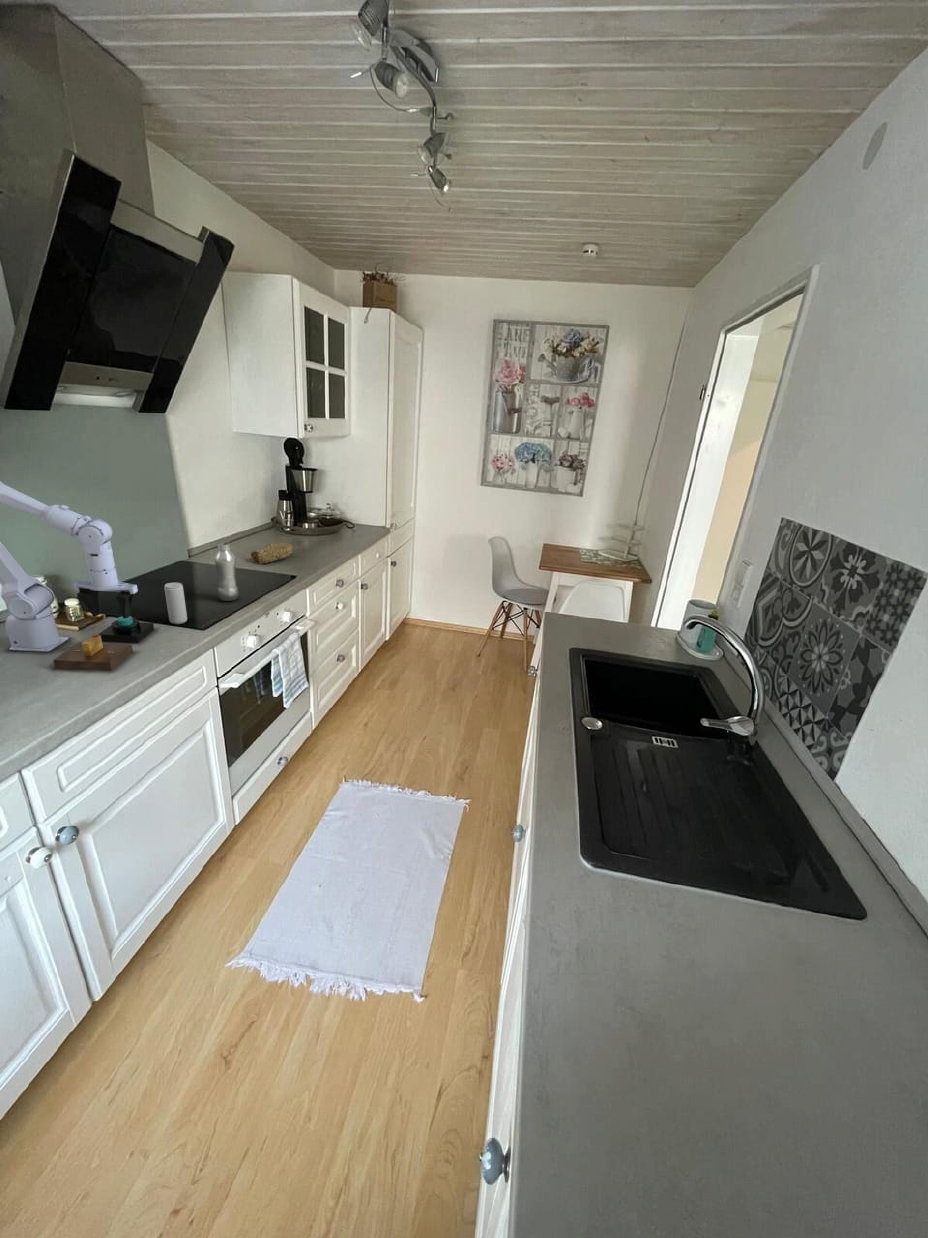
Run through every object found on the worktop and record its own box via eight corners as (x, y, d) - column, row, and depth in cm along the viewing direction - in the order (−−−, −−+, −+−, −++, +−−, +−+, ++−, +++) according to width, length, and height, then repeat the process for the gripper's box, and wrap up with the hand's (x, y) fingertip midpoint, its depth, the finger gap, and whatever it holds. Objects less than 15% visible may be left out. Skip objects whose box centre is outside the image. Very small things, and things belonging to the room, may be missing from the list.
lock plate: (55, 668, 119) (52, 659, 118) (81, 650, 129) (78, 641, 127) (111, 671, 121) (109, 661, 120) (133, 652, 130) (131, 643, 129)
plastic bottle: (213, 600, 167) (207, 543, 159) (229, 594, 173) (224, 540, 165) (228, 604, 165) (222, 547, 157) (243, 598, 171) (238, 543, 163)
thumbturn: (91, 656, 122) (88, 643, 120) (84, 656, 121) (81, 642, 120) (103, 647, 126) (100, 634, 125) (96, 647, 126) (93, 634, 124)
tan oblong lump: (265, 569, 204) (304, 552, 217) (258, 552, 201) (298, 536, 214) (249, 566, 213) (288, 551, 226) (243, 550, 209) (282, 535, 222)
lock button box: (99, 641, 134) (96, 628, 132) (118, 627, 142) (115, 615, 140) (138, 643, 135) (135, 630, 133) (154, 629, 143) (152, 617, 142)
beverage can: (179, 625, 147) (174, 588, 142) (165, 623, 148) (160, 586, 143) (191, 620, 151) (186, 583, 147) (177, 617, 152) (172, 581, 147)
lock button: (115, 626, 135) (114, 620, 134) (122, 621, 138) (121, 615, 138) (128, 626, 136) (127, 621, 135) (135, 621, 139) (134, 616, 138)
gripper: (140, 565, 129) (148, 612, 135) (81, 561, 128) (92, 608, 133) (125, 573, 123) (134, 622, 128) (63, 569, 121) (75, 619, 127)
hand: (111, 616), depth 130 cm, fingers open, 7 cm apart
